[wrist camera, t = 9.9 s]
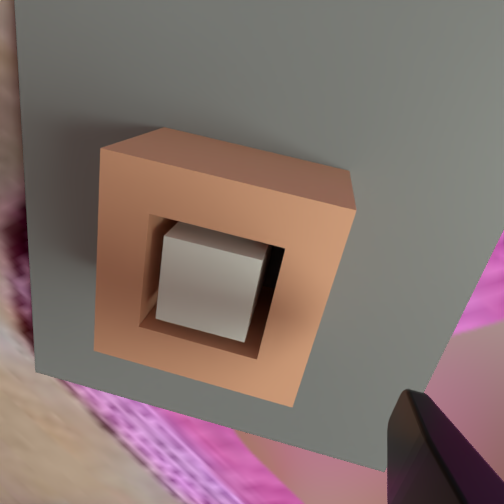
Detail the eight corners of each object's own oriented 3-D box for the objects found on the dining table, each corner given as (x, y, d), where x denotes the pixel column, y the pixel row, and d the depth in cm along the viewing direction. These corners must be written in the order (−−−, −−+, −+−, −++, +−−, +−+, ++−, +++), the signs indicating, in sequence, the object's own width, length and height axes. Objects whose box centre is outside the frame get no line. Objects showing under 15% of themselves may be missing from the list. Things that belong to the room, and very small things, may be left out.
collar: (148, 286, 16) (93, 350, 12) (164, 127, 13) (100, 148, 9) (301, 327, 15) (292, 407, 11) (349, 170, 13) (356, 210, 9)
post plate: (49, 358, 19) (-36, 444, 15) (31, -124, 12) (-155, -245, 7) (381, 452, 18) (398, 577, 14) (605, -22, 10) (813, -94, 6)
